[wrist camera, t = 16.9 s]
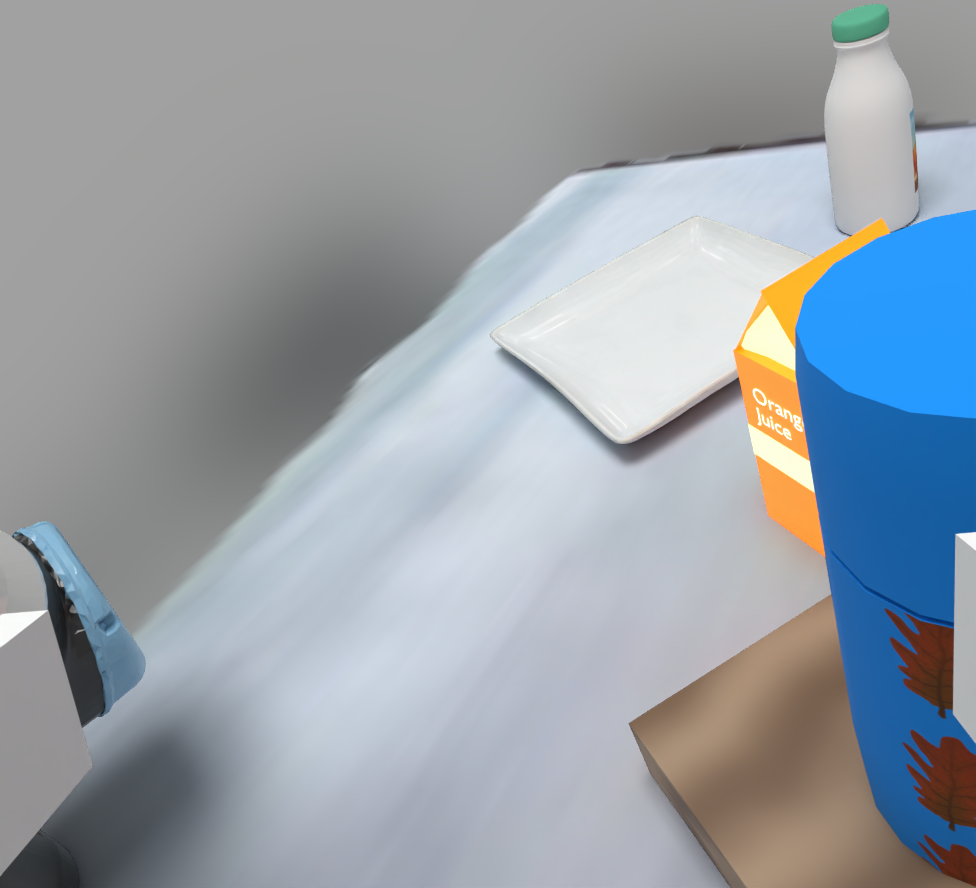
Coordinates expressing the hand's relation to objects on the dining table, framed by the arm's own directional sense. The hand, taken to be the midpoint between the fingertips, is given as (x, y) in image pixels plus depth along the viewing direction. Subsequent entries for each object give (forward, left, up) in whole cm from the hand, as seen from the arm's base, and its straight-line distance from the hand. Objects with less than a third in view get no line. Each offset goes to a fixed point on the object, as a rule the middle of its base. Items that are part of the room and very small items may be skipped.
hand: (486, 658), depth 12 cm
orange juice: (-27, +27, -36) cm, 52 cm away
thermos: (-7, +17, -31) cm, 36 cm away
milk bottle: (-56, +56, -36) cm, 87 cm away
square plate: (-56, +31, -36) cm, 74 cm away
